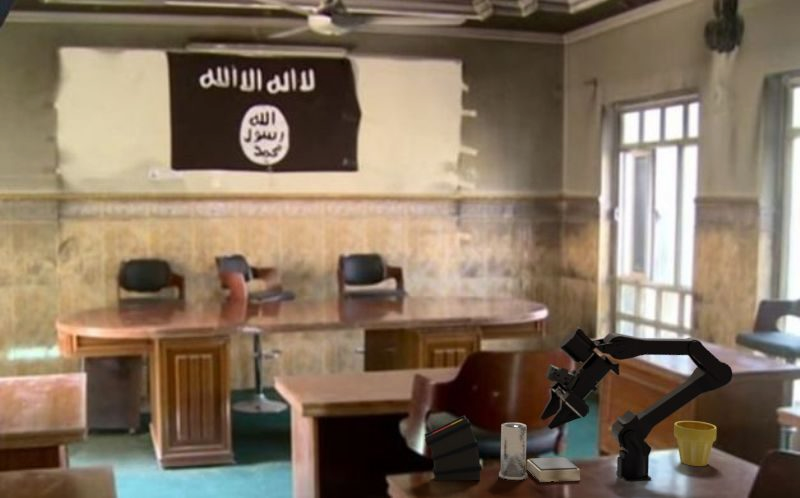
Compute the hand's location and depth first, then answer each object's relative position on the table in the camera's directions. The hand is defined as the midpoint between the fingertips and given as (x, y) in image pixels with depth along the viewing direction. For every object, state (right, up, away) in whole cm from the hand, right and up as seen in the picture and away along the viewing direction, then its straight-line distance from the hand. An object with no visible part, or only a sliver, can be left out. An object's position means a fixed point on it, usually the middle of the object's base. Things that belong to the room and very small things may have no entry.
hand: (545, 423), depth 218 cm
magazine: (-22, -13, -2) cm, 26 cm away
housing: (-8, -13, 0) cm, 15 cm away
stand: (+2, -13, +2) cm, 13 cm away
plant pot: (+41, -13, +15) cm, 45 cm away
